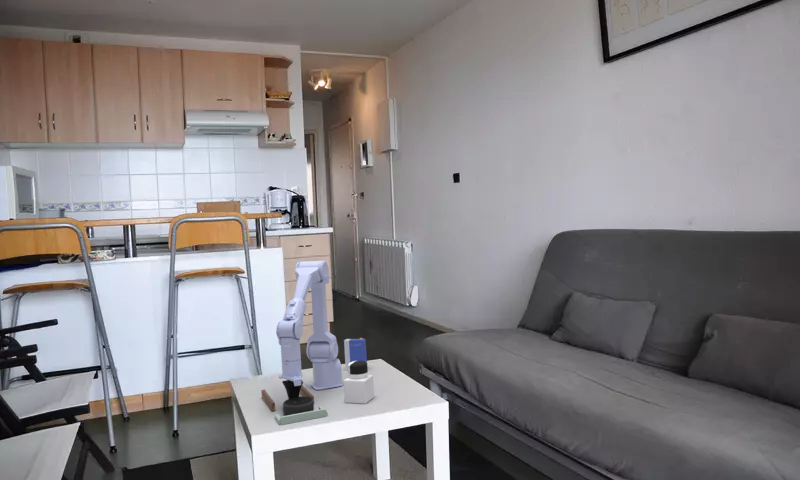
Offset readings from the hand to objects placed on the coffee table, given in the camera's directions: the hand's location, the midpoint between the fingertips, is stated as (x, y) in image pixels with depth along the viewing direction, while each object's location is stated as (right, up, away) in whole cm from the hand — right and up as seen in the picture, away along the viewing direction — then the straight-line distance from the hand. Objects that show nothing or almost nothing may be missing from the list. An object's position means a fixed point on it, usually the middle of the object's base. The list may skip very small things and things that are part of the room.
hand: (293, 404), depth 170 cm
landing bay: (+4, -1, -8) cm, 9 cm away
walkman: (+16, 0, +44) cm, 47 cm away
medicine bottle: (+20, -1, +5) cm, 20 cm away
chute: (-4, -2, +9) cm, 10 cm away
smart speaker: (+2, -2, -5) cm, 6 cm away
